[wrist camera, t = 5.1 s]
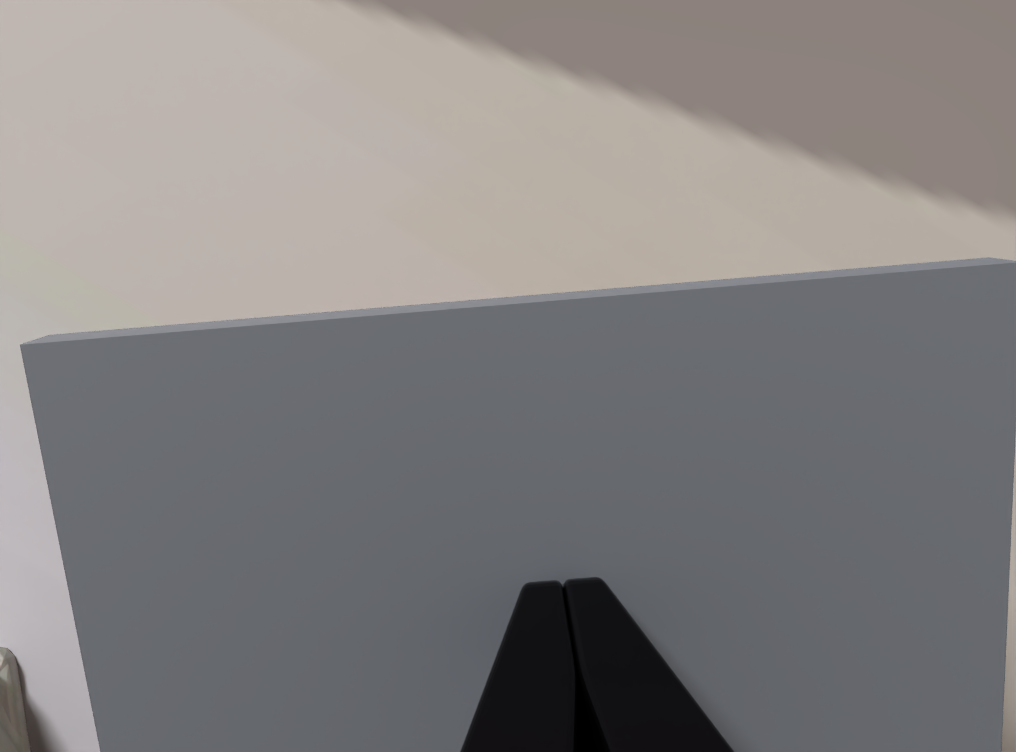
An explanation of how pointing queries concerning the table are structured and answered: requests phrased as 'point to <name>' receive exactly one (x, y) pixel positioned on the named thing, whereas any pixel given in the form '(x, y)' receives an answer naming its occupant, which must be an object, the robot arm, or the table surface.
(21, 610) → the table surface
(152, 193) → the table surface
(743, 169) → the table surface
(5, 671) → the tape dispenser
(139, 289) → the table surface
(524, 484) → the lid
